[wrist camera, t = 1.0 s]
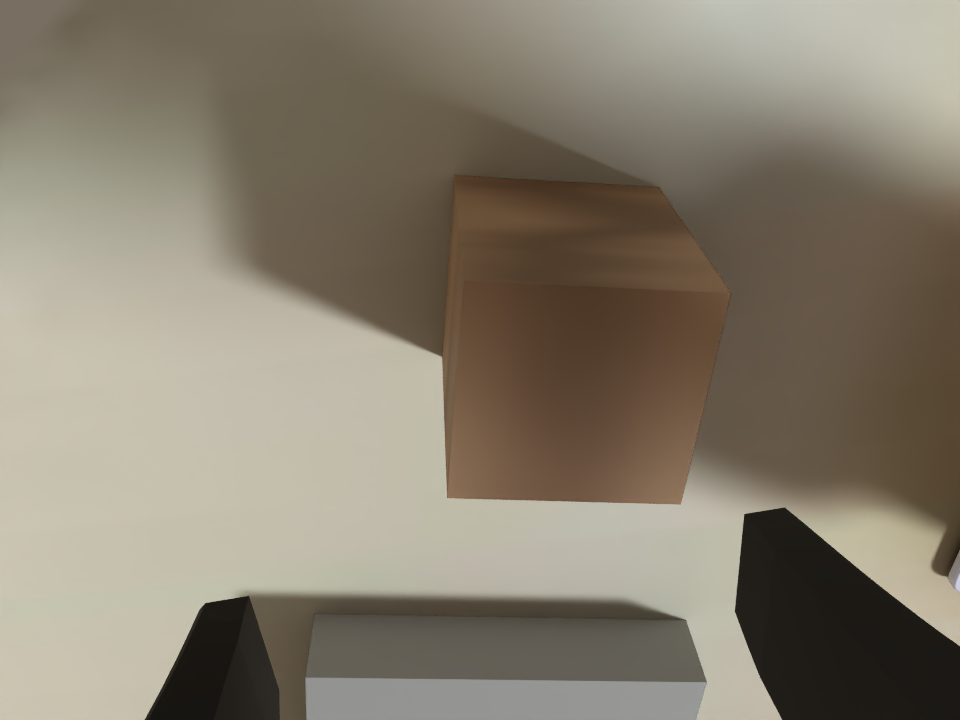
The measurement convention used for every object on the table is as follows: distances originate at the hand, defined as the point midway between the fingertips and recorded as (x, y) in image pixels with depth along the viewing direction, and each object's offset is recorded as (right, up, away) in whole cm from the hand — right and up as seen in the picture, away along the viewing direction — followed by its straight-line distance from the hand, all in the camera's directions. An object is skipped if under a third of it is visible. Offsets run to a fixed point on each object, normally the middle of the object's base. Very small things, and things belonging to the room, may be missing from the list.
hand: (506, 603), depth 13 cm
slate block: (0, -10, +19) cm, 21 cm away
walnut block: (+1, +6, +10) cm, 11 cm away
